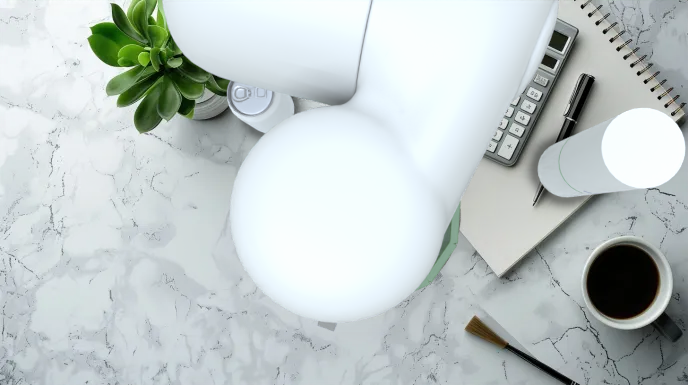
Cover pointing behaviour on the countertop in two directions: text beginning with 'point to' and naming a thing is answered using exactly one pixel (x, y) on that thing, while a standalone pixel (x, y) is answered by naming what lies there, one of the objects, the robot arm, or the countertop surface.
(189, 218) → the countertop surface
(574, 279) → the countertop surface
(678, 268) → the countertop surface
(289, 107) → the can
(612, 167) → the cylindrical container
